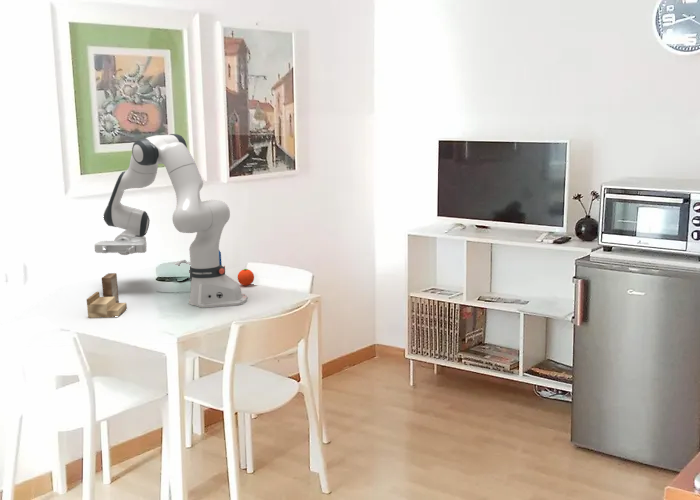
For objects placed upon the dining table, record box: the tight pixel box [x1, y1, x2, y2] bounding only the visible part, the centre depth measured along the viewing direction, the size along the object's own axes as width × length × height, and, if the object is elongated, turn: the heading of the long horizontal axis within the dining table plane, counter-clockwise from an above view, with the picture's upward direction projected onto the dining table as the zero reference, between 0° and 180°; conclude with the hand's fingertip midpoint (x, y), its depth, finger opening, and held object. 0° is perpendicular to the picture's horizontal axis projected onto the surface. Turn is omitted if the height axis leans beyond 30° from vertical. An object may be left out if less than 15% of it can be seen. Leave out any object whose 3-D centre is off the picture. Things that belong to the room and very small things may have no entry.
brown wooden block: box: [101, 272, 120, 303], centre depth 306 cm, size 3×8×12 cm, turn 179°
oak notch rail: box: [86, 291, 128, 319], centre depth 296 cm, size 11×11×7 cm
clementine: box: [237, 268, 255, 287], centre depth 334 cm, size 8×7×7 cm
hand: (115, 251), depth 315 cm, fingers open, 8 cm apart
